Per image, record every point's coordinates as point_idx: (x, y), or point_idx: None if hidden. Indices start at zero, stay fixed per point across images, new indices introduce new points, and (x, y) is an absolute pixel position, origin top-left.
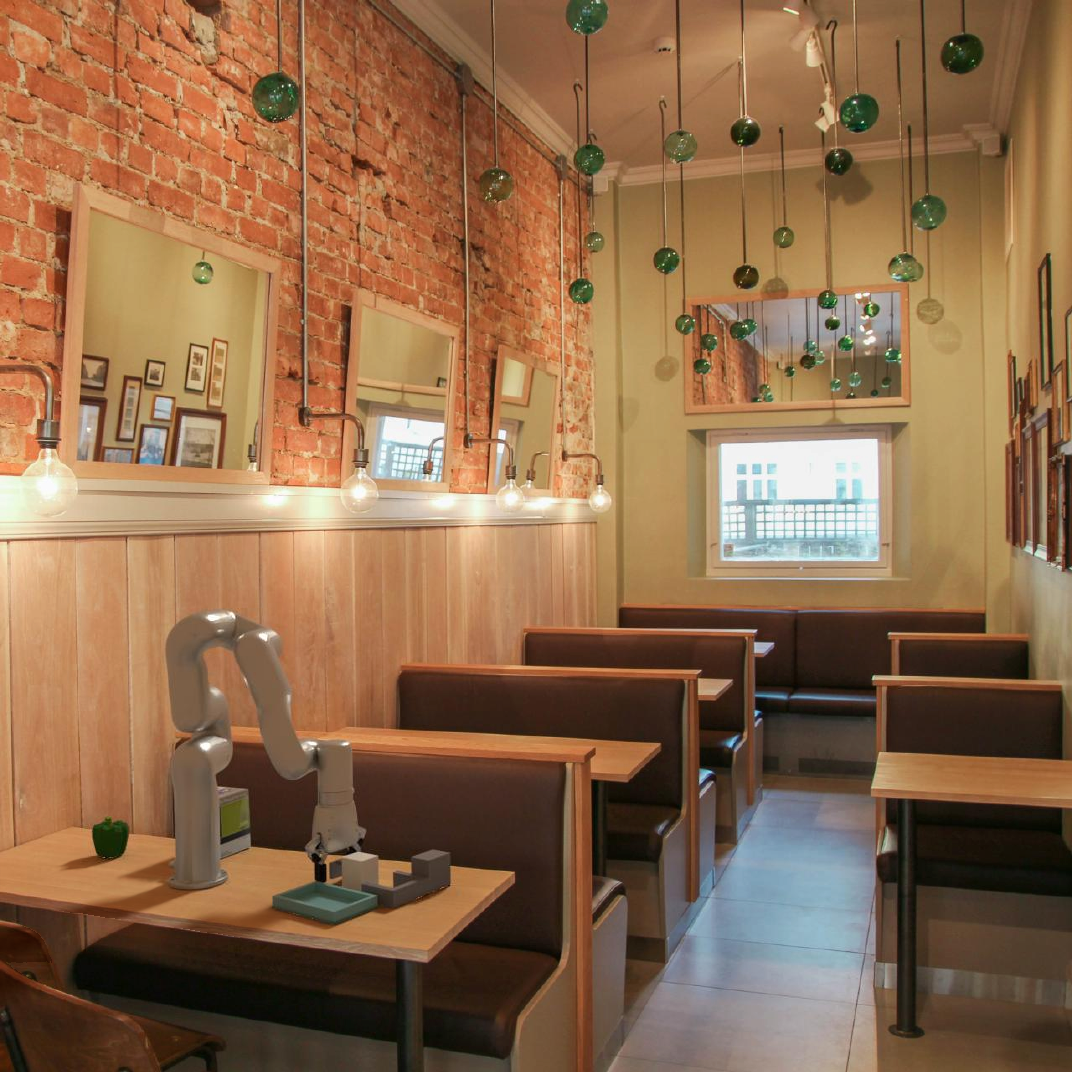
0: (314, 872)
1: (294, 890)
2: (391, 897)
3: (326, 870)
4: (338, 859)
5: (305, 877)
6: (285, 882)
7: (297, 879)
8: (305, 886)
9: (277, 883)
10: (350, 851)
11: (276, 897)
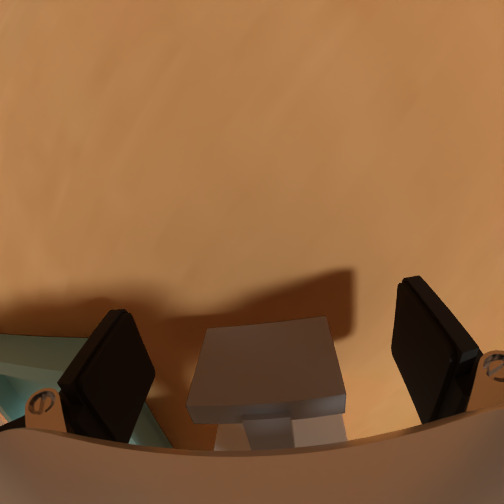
0: (91, 335)
1: (6, 375)
2: None
3: (137, 417)
4: (279, 420)
5: (198, 56)
6: (70, 75)
7: (140, 61)
8: (39, 382)
9: (41, 68)
10: (453, 392)
11: None
